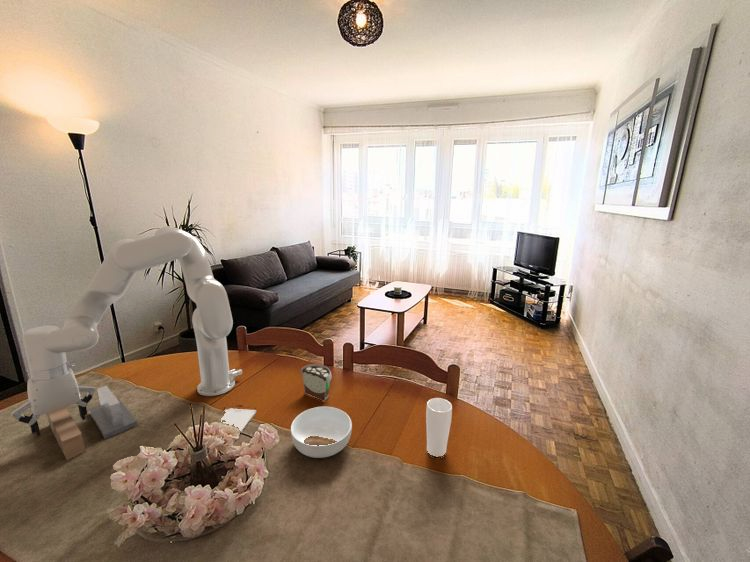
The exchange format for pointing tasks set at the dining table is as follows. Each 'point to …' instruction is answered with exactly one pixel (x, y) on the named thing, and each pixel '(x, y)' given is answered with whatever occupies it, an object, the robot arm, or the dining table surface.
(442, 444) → the drinking glass
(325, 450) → the cereal bowl
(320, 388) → the food container
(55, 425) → the walnut bar
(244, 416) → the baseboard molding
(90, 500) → the dining table surface
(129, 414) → the balance stand
